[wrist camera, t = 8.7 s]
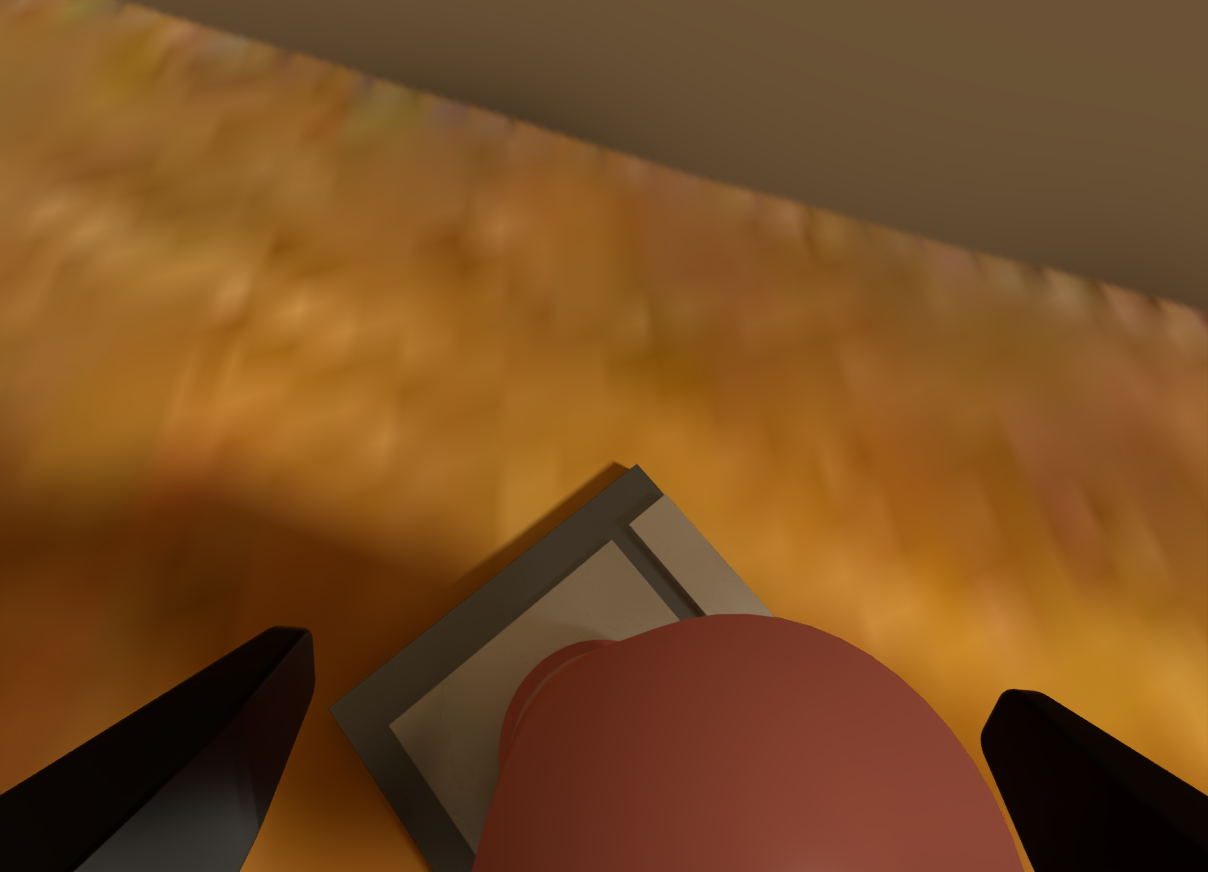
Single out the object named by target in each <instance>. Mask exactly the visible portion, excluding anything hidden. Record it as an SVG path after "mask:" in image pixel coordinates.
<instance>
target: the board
mask: <svg viewBox="0 0 1208 872" xmlns="http://www.w3.org/2000/svg"><path fill="white" fill-rule="evenodd" d="M715 614H754V615H762V616H770V617H775V616H774V615H773V614H772V613H771V612H770V611H769V610H768V609H767V607H766V606H765V605H764V604H763V603H762V602H761V601H760V600H759V598H758V597H757V596H756V595H755V594H754V593H753V592H752V591H751V589H750V588H749V587H748V586H747V585H746V584H745V583H744V582H743V580H742V579H741V578H740V577H739V576H738V575H737V574H736V573H735V571H734V570H733V569H732V568H731V567H730V566H729V565H728V564H727V562H726V561H725V560H724V559H723V558H722V557H721V556H720V555H719V553H718V552H717V551H716V550H715V549H714V548H713V547H712V546H711V544H710V543H709V542H708V541H707V540H706V539H705V538H704V537H703V535H702V534H701V533H700V532H699V531H698V530H697V529H696V527H695V526H694V525H693V524H692V523H691V522H690V521H689V520H688V518H687V517H686V516H685V515H684V514H683V513H682V512H681V511H680V509H679V508H678V507H677V506H676V505H675V504H674V503H673V502H672V500H671V499H670V498H669V497H668V496H667V495H666V494H665V495H664V494H663V493H662V492H661V490H660V489H659V488H658V487H657V486H656V485H655V484H654V483H653V481H652V480H651V479H650V478H649V477H648V476H647V475H646V474H645V472H644V471H643V470H642V469H641V468H640V467H639V466H638V465H637V464H636V465H635V466H633V467H632V468H631V469H630V470H628V471H627V472H626V473H625V474H623V475H622V476H621V477H620V478H618V479H617V480H616V481H615V482H613V483H612V484H611V485H609V486H608V487H607V488H606V489H604V490H603V491H602V492H601V493H599V494H598V495H597V496H596V497H594V498H593V499H592V500H591V501H589V502H588V503H587V504H586V505H584V506H583V507H582V508H580V509H579V510H578V511H577V512H575V513H574V514H573V515H572V516H570V517H569V518H568V519H567V520H565V521H564V522H563V523H562V524H560V525H559V526H558V527H556V528H555V529H554V530H553V531H551V532H550V533H549V534H548V535H546V536H545V537H544V538H543V539H541V540H540V541H539V542H538V543H536V544H535V545H534V546H533V547H531V548H530V549H529V550H527V551H526V552H525V553H524V554H522V555H521V556H520V557H519V558H517V559H516V560H515V561H514V562H512V563H511V564H510V565H509V566H507V567H506V568H505V569H504V570H502V571H501V572H500V573H498V574H497V575H496V576H495V577H493V578H492V579H491V580H490V581H488V582H487V583H486V584H485V585H483V586H482V587H481V588H480V589H478V590H477V591H476V592H474V593H473V594H472V595H471V596H469V597H468V598H467V599H466V600H464V601H463V602H462V603H461V604H459V605H458V606H457V607H456V608H454V609H453V610H452V611H451V612H449V613H448V614H447V615H445V616H444V617H443V618H442V619H440V620H439V621H438V622H437V623H435V624H434V625H433V626H432V627H430V628H429V629H428V630H427V631H425V632H424V633H423V634H422V635H420V636H419V637H418V638H416V639H415V640H414V641H413V642H411V643H410V644H409V645H408V646H406V647H405V648H404V649H403V650H401V651H400V652H399V653H398V654H396V655H395V656H394V657H392V658H391V659H390V660H389V661H387V662H386V663H385V664H384V665H382V666H381V667H380V668H379V669H377V670H376V671H375V672H374V673H372V674H371V675H370V676H369V677H367V678H366V679H365V680H363V681H362V682H361V683H360V684H358V685H357V686H356V687H355V688H353V689H352V690H351V691H350V692H348V693H347V694H346V695H345V696H343V697H342V698H341V699H340V700H338V701H337V702H336V703H334V704H333V705H332V706H331V707H329V708H328V709H329V711H330V712H331V714H332V715H333V717H334V718H335V720H336V721H337V723H338V724H339V726H340V727H341V729H342V731H343V732H344V734H345V735H346V737H347V738H348V740H349V741H350V743H351V744H352V746H353V748H354V749H355V751H356V752H357V754H358V755H359V757H360V758H361V760H362V761H363V763H364V764H365V766H366V768H367V769H368V771H369V772H370V774H371V775H372V777H373V778H374V780H375V781H376V783H377V785H378V786H379V788H380V789H381V791H382V792H383V794H384V795H385V797H386V798H387V800H388V801H389V803H390V805H391V806H392V808H393V809H394V811H395V812H396V814H397V815H398V817H399V818H400V820H401V822H402V823H403V825H404V826H405V828H406V829H407V831H408V832H409V834H410V835H411V837H412V839H413V840H414V842H415V843H416V845H417V846H418V848H419V849H420V851H421V852H422V854H423V855H424V857H425V859H426V860H427V862H428V863H429V865H430V866H431V868H432V869H433V871H434V872H471V871H472V867H473V864H474V860H475V856H476V853H477V849H478V845H479V842H480V838H481V834H482V831H483V827H484V824H485V821H486V817H487V814H488V811H489V808H490V805H491V802H492V798H493V795H494V792H495V789H496V786H497V783H498V780H499V776H500V773H499V761H498V756H499V740H500V734H501V728H502V724H503V721H504V717H505V714H506V711H507V709H508V706H509V704H510V702H511V699H512V698H513V696H514V694H515V692H516V690H517V689H518V687H519V686H520V684H521V683H522V682H523V680H524V679H525V677H526V676H527V675H528V674H529V673H530V672H531V671H532V670H533V669H534V668H535V667H536V666H537V665H538V664H539V663H540V662H542V661H543V660H544V659H545V658H546V657H548V656H550V655H551V654H553V653H554V652H556V651H558V650H560V649H562V648H564V647H566V646H569V645H572V644H575V643H578V642H582V641H588V640H614V641H622V640H624V639H627V638H630V637H633V636H635V635H638V634H641V633H644V632H647V631H649V630H652V629H655V628H658V627H661V626H665V625H668V624H671V623H674V622H678V621H681V620H684V619H689V618H696V617H702V616H708V615H715Z"/></svg>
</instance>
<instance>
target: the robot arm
mask: <svg viewBox="0 0 1208 872" xmlns="http://www.w3.org/2000/svg"><path fill="white" fill-rule="evenodd" d="M314 687H315V668H314V653H313V639H312V634H311V632H310V631H309V630H308V629H306V628H302V627H290V626H274V627H271V628H269V629H267V630H265V631H264V632H262V633H261V634H259V635H257V636H256V637H254V638H253V639H251V640H249V641H248V642H246V643H245V644H243V645H241V646H240V647H238V648H237V649H235V650H233V651H232V652H230V653H229V654H227V655H225V656H224V657H222V658H220V659H219V660H217V661H216V662H214V663H212V664H211V665H209V666H208V667H206V668H204V669H203V670H201V671H200V672H198V673H196V674H195V675H193V676H192V677H190V678H188V679H187V680H185V681H183V682H182V683H180V684H179V685H177V686H175V687H174V688H172V689H171V690H169V691H167V692H166V693H164V694H163V695H161V696H159V697H158V698H156V699H155V700H153V701H151V702H150V703H148V704H146V705H145V706H143V707H142V708H140V709H138V710H137V711H135V712H134V713H132V714H130V715H129V716H127V717H126V718H124V719H122V720H121V721H119V722H118V723H116V724H114V725H113V726H111V727H109V728H108V729H106V730H105V731H103V732H101V733H100V734H98V735H97V736H95V737H93V738H92V739H90V740H89V741H87V742H85V743H84V744H82V745H81V746H79V747H77V748H76V749H74V750H73V751H71V752H69V753H68V754H66V755H64V756H63V757H61V758H60V759H58V760H56V761H55V762H53V763H52V764H50V765H48V766H47V767H45V768H44V769H42V770H40V771H39V772H37V773H36V774H34V775H32V776H31V777H29V778H27V779H26V780H24V781H23V782H21V783H19V784H18V785H16V786H15V787H13V788H11V789H10V790H8V791H7V792H5V793H3V794H2V795H0V872H240V870H241V868H242V866H243V864H244V862H245V860H246V858H247V856H248V854H249V852H250V850H251V847H252V845H253V843H254V841H255V839H256V837H257V835H258V833H259V831H260V828H261V826H262V823H263V821H264V818H265V816H266V814H267V811H268V809H269V806H270V804H271V801H272V799H273V796H274V794H275V791H276V788H277V786H278V783H279V781H280V778H281V776H282V773H283V771H284V768H285V765H286V763H287V760H288V758H289V755H290V753H291V750H292V748H293V745H294V743H295V740H296V737H297V735H298V732H299V730H300V727H301V725H302V722H303V720H304V717H305V714H306V712H307V709H308V707H309V704H310V702H311V699H312V696H313V692H314ZM981 747H982V751H983V754H984V756H985V759H986V761H987V763H988V765H989V768H990V770H991V772H992V775H993V777H994V779H995V782H996V784H997V786H998V789H999V791H1000V793H1001V796H1002V798H1003V800H1004V803H1005V805H1006V807H1007V810H1008V812H1009V814H1010V817H1011V819H1012V821H1013V823H1014V826H1015V828H1016V830H1017V833H1018V835H1019V837H1020V840H1021V842H1022V844H1023V847H1024V849H1025V851H1026V854H1027V856H1028V858H1029V860H1030V863H1031V865H1032V867H1033V869H1034V871H1035V872H1208V796H1207V795H1205V794H1204V793H1202V792H1200V791H1199V790H1197V789H1196V788H1194V787H1192V786H1191V785H1189V784H1188V783H1186V782H1184V781H1183V780H1181V779H1180V778H1178V777H1176V776H1175V775H1173V774H1172V773H1170V772H1168V771H1167V770H1165V769H1164V768H1162V767H1160V766H1159V765H1157V764H1156V763H1154V762H1152V761H1151V760H1149V759H1148V758H1146V757H1144V756H1143V755H1141V754H1140V753H1138V752H1136V751H1135V750H1133V749H1132V748H1130V747H1128V746H1127V745H1125V744H1124V743H1122V742H1120V741H1119V740H1117V739H1116V738H1114V737H1112V736H1111V735H1109V734H1108V733H1106V732H1104V731H1103V730H1101V729H1100V728H1098V727H1096V726H1095V725H1093V724H1092V723H1090V722H1088V721H1087V720H1085V719H1084V718H1082V717H1080V716H1079V715H1077V714H1076V713H1074V712H1072V711H1071V710H1069V709H1068V708H1066V707H1064V706H1063V705H1061V704H1060V703H1058V702H1056V701H1055V700H1053V699H1052V698H1050V697H1048V696H1047V695H1045V694H1043V693H1040V692H1037V691H1031V690H1019V689H1009V690H1006V691H1005V692H1003V693H1002V694H1001V696H1000V697H999V699H998V701H997V703H996V705H995V707H994V709H993V710H992V712H991V714H990V716H989V718H988V720H987V722H986V724H985V726H984V728H983V730H982V732H981Z"/></svg>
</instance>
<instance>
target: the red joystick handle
mask: <svg viewBox="0 0 1208 872" xmlns="http://www.w3.org/2000/svg"><path fill="white" fill-rule="evenodd" d="M498 761H499V773H500V776H499V780H498V783H497V786H496V789H495V792H494V795H493V798H492V802H491V805H490V808H489V811H488V814H487V817H486V821H485V824H484V827H483V831H482V834H481V838H480V842H479V845H478V849H477V853H476V856H475V860H474V864H473V867H472V871H471V872H1024V870H1023V867H1022V864H1021V861H1020V858H1019V855H1018V852H1017V850H1016V847H1015V844H1014V841H1013V838H1012V835H1011V833H1010V831H1009V829H1008V827H1007V824H1006V822H1005V820H1004V818H1003V816H1002V813H1001V811H1000V809H999V807H998V805H997V802H996V800H995V798H994V796H993V794H992V793H991V791H990V789H989V787H988V786H987V784H986V782H985V780H984V779H983V777H982V775H981V773H980V772H979V770H978V768H977V767H976V765H975V763H974V761H973V760H972V758H971V757H970V756H969V754H968V753H967V751H966V750H965V749H964V747H963V746H962V744H961V743H960V742H959V740H958V739H957V737H956V736H955V735H954V733H953V732H952V730H951V729H950V728H949V727H948V726H947V725H946V723H945V722H944V721H943V720H942V719H941V718H940V717H939V715H938V714H937V713H936V712H935V711H934V710H933V709H932V707H931V706H930V705H929V704H928V703H927V702H926V701H925V700H924V699H923V698H922V697H921V696H920V695H919V694H918V693H917V692H916V691H914V690H913V689H912V688H911V687H910V686H909V685H908V684H907V683H906V682H905V681H904V680H902V679H901V678H900V677H899V676H898V675H897V674H895V673H894V672H893V671H891V670H890V669H888V668H887V667H886V666H884V665H883V664H882V663H880V662H879V661H878V660H876V659H875V658H873V657H872V656H871V655H869V654H867V653H866V652H864V651H862V650H860V649H858V648H857V647H855V646H853V645H851V644H850V643H848V642H846V641H844V640H843V639H841V638H838V637H836V636H833V635H831V634H829V633H826V632H824V631H821V630H819V629H816V628H814V627H812V626H809V625H805V624H801V623H797V622H794V621H790V620H786V619H782V618H778V617H770V616H762V615H754V614H715V615H708V616H702V617H696V618H689V619H684V620H681V621H678V622H674V623H671V624H668V625H665V626H661V627H658V628H655V629H652V630H649V631H647V632H644V633H641V634H638V635H635V636H633V637H630V638H627V639H624V640H622V641H614V640H588V641H582V642H578V643H575V644H572V645H569V646H566V647H564V648H562V649H560V650H558V651H556V652H554V653H553V654H551V655H550V656H548V657H546V658H545V659H544V660H543V661H542V662H540V663H539V664H538V665H537V666H536V667H535V668H534V669H533V670H532V671H531V672H530V673H529V674H528V675H527V676H526V677H525V679H524V680H523V682H522V683H521V684H520V686H519V687H518V689H517V690H516V692H515V694H514V696H513V698H512V699H511V702H510V704H509V706H508V709H507V711H506V714H505V717H504V721H503V724H502V728H501V734H500V740H499V756H498Z"/></svg>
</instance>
